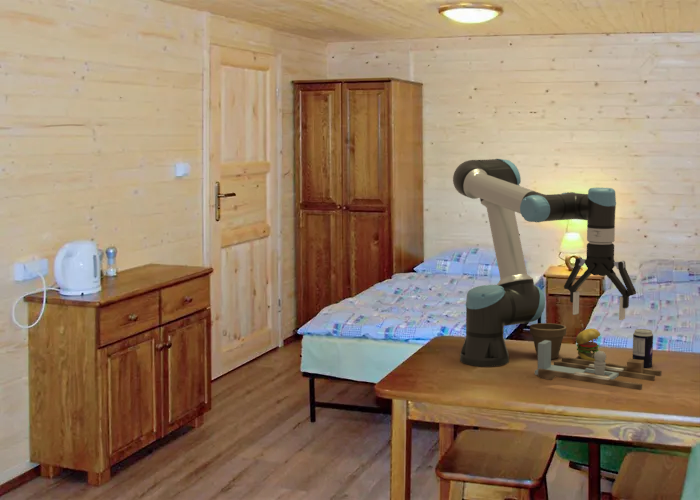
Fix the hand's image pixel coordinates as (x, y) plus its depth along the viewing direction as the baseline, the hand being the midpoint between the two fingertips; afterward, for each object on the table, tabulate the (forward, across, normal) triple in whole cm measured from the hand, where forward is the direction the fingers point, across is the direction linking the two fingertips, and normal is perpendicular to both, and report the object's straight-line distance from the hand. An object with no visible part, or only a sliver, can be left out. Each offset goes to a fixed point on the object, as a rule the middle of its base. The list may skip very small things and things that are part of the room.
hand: (598, 316), depth 258 cm
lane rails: (+19, 0, +2) cm, 19 cm away
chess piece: (+19, +1, 0) cm, 19 cm away
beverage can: (+19, +7, +19) cm, 28 cm away
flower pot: (+19, -23, +18) cm, 35 cm away
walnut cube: (+18, +8, +8) cm, 21 cm away
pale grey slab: (+18, -6, 0) cm, 19 cm away
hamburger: (+19, -10, +19) cm, 29 cm away
